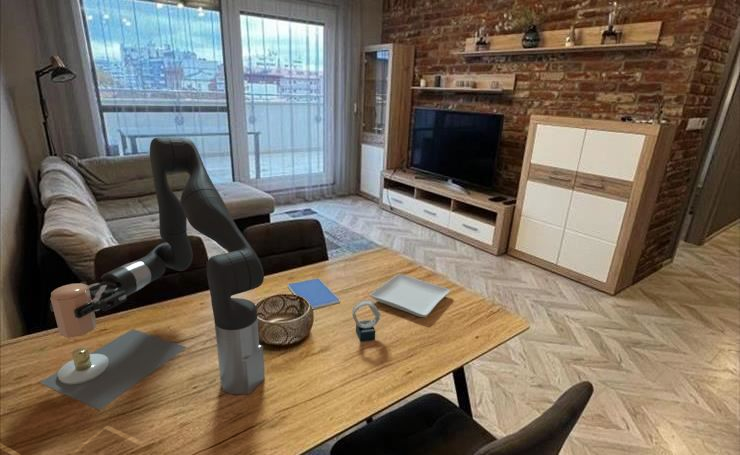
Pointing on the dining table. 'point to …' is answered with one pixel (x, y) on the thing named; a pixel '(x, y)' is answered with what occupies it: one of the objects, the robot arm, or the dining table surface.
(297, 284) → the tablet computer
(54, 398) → the dining table surface
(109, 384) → the rubber mat
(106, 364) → the saucer
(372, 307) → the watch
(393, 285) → the salad plate
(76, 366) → the brass weight
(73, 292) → the domed octagonal post
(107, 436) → the dining table surface
